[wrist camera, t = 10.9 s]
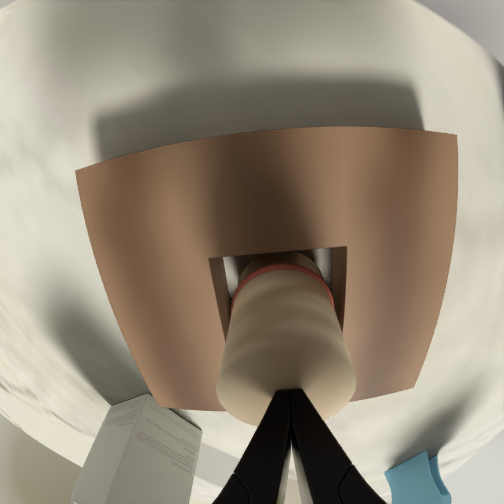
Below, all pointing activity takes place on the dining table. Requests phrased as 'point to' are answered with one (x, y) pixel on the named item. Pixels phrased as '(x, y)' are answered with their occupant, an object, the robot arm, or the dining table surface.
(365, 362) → the walnut board
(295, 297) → the beech peg
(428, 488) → the vase
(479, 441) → the dining table surface
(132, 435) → the supplement box
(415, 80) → the dining table surface
